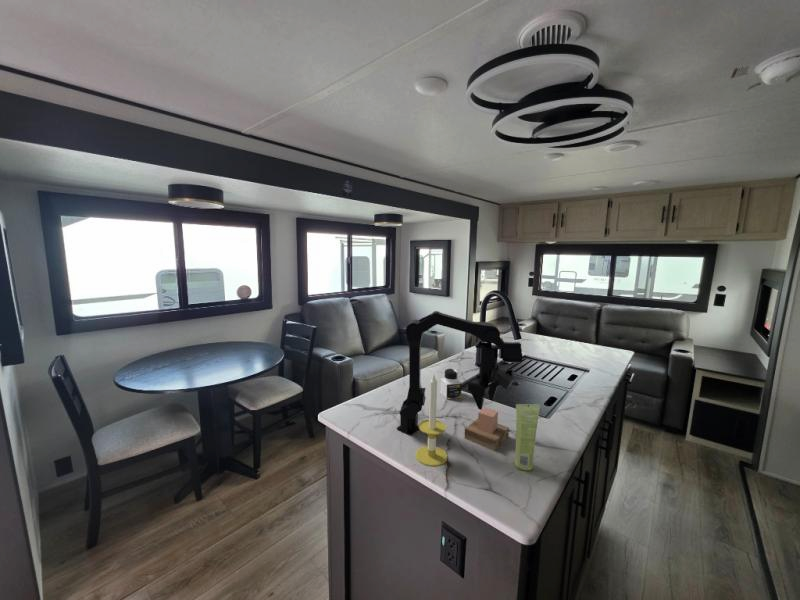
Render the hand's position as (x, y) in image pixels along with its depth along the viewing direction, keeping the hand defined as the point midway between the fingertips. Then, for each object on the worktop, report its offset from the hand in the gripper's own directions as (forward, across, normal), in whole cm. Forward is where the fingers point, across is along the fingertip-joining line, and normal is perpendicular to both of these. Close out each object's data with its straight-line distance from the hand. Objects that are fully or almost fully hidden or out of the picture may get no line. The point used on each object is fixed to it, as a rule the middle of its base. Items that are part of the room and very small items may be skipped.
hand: (485, 404), depth 109 cm
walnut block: (+12, 0, -1) cm, 12 cm away
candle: (+12, -21, +8) cm, 26 cm away
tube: (+12, -7, -16) cm, 21 cm away
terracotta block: (+8, 0, -1) cm, 8 cm away
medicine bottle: (+12, +22, +26) cm, 36 cm away
